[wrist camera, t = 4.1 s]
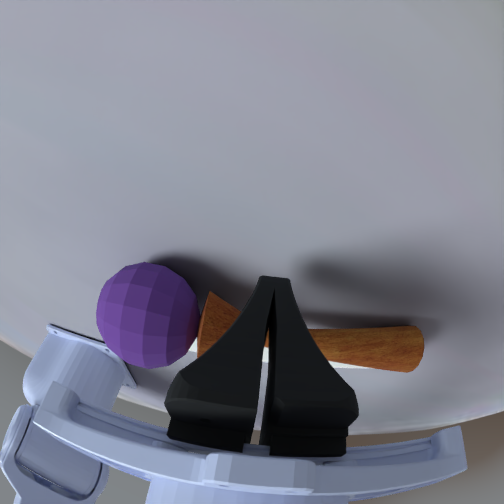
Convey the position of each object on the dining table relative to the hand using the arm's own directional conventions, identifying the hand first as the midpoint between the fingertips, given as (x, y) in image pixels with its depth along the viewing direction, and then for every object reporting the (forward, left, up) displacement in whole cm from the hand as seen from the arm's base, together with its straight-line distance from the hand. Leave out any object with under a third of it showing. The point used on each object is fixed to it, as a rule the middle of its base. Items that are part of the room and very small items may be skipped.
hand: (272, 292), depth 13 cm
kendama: (0, -4, -3) cm, 5 cm away
